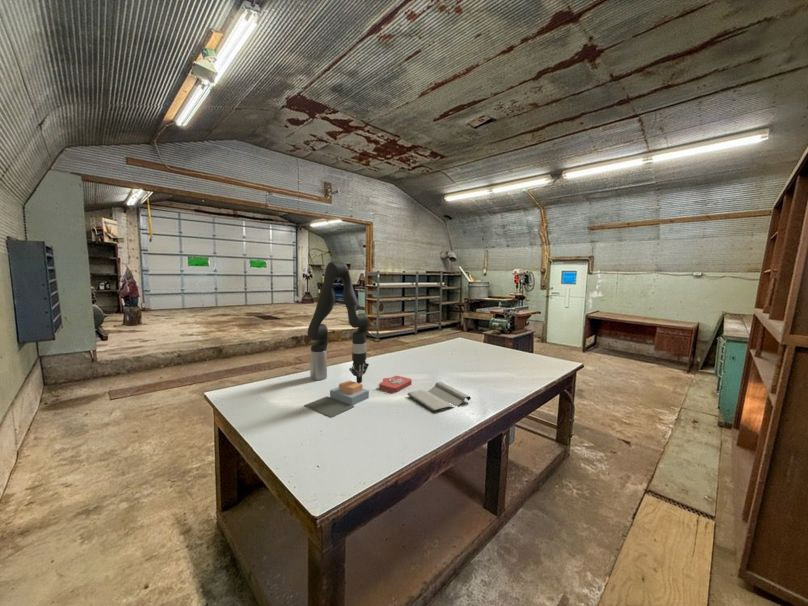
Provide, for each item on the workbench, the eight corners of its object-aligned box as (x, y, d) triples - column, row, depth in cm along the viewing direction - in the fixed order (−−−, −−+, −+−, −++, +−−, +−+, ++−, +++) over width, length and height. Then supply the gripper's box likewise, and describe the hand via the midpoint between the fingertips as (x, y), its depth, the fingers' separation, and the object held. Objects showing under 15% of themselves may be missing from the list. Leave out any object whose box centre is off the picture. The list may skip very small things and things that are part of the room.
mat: (406, 397, 166) (407, 389, 165) (441, 389, 179) (441, 381, 178) (434, 414, 147) (434, 405, 146) (470, 403, 159) (471, 394, 159)
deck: (330, 397, 164) (330, 390, 163) (347, 390, 173) (347, 383, 173) (351, 405, 154) (351, 397, 154) (368, 397, 164) (368, 390, 163)
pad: (304, 405, 153) (304, 405, 153) (326, 396, 164) (326, 396, 164) (331, 417, 141) (331, 416, 141) (354, 407, 153) (354, 406, 152)
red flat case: (392, 373, 193) (412, 378, 185) (392, 379, 194) (412, 384, 185) (373, 381, 178) (395, 387, 170) (373, 388, 179) (395, 394, 170)
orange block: (339, 389, 164) (339, 383, 164) (349, 385, 170) (349, 380, 170) (352, 394, 158) (352, 388, 158) (362, 390, 164) (362, 384, 164)
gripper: (362, 347, 175) (362, 378, 176) (345, 352, 164) (345, 384, 166) (372, 349, 170) (372, 380, 172) (355, 354, 160) (355, 387, 161)
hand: (359, 382), depth 169 cm, fingers closed
